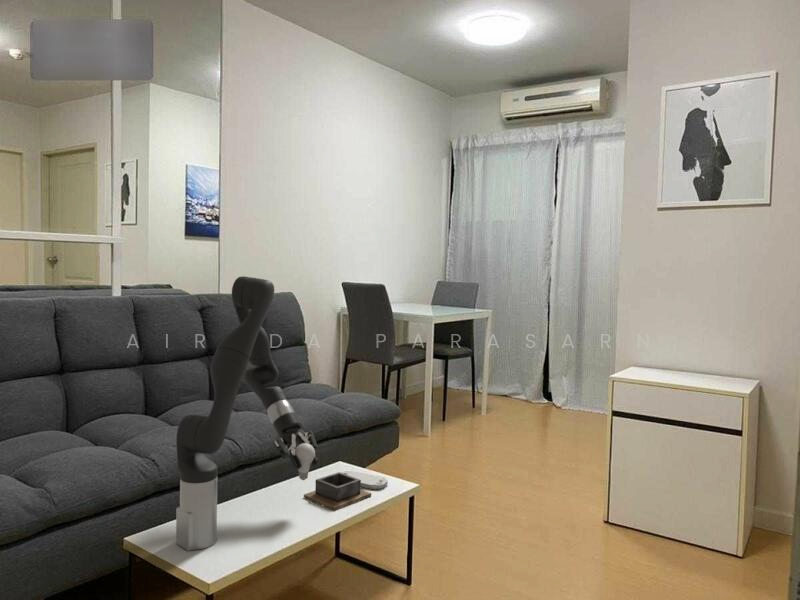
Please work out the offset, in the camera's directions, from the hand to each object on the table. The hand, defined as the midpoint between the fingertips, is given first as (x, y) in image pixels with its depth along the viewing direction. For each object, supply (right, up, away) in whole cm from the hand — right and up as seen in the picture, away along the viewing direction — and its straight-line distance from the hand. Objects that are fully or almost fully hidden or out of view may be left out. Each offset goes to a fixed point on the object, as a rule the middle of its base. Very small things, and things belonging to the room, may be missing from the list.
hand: (307, 465), depth 180 cm
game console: (+14, -13, +26) cm, 32 cm away
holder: (+8, -13, +13) cm, 20 cm away
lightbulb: (-2, -5, +1) cm, 5 cm away
